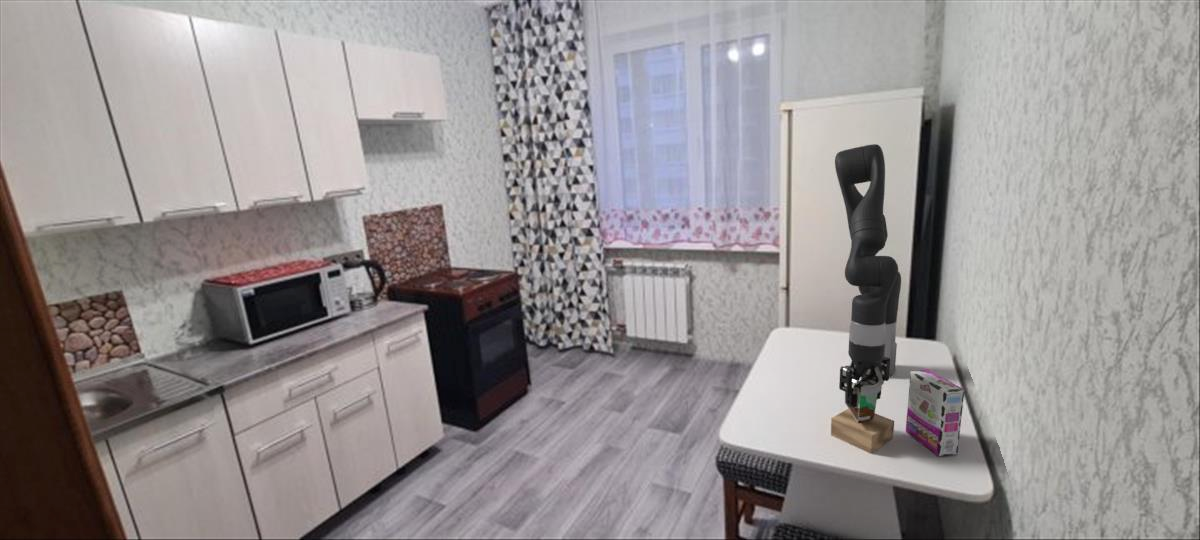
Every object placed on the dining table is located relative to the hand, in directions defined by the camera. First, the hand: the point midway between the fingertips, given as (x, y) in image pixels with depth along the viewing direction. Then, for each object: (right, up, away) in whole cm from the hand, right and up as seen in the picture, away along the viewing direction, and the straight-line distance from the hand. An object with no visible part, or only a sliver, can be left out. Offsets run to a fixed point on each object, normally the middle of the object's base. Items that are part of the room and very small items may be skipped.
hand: (863, 401), depth 118 cm
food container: (+1, -3, +1) cm, 3 cm away
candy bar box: (+15, -9, -2) cm, 18 cm away
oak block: (+1, -9, +2) cm, 10 cm away
